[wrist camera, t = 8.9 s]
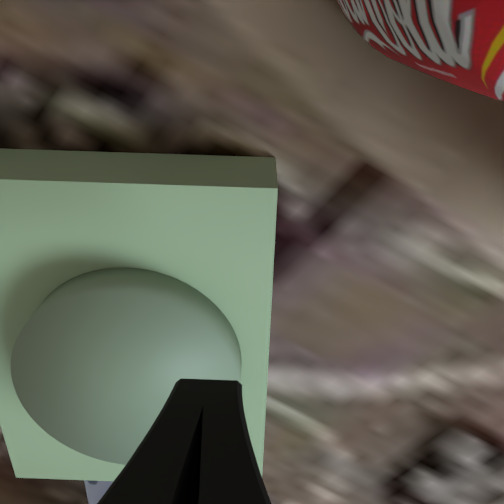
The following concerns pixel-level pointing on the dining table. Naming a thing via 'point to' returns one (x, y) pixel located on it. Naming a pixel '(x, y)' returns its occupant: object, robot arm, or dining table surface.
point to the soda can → (438, 38)
